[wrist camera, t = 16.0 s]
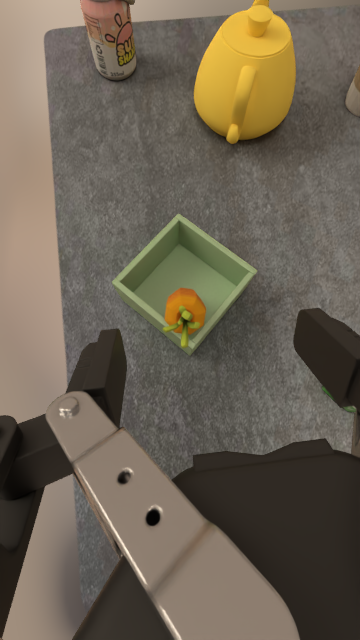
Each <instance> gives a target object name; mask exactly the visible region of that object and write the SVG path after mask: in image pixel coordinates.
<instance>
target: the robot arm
mask: <svg viewBox="0 0 360 640" xmlns="http://www.w3.org/2000/svg"><path fill="white" fill-rule="evenodd" d="M294 348H295V350H296V352H297V353H298V355H299V356H300V357H301V359H302V360H303V361H304V362H305V364H306V365H307V366H308V367H309V369H310V370H311V371H312V373H313V374H314V375H315V376H316V378H317V379H318V380H319V381H320V383H321V384H322V385H323V386H324V388H325V389H326V390H327V392H328V393H329V394H330V395H331V397H332V398H333V399H334V400H335V402H336V403H337V404H338V406H339V407H340V408H341V407H349V406H354V407H355V408H356V411H355V414H354V422H353V435H352V448H351V454H349V453H346V452H342V451H338V450H333V449H332V448H331V446H330V444H329V443H328V441H327V440H326V438H325V439H317V440H309V441H301V442H294V443H291V444H289V445H287V446H284V447H282V448H280V449H277V450H275V451H273V452H270V453H268V454H265V455H255V454H246V453H238V452H229V451H223V452H215V453H207V454H200V455H193V464H194V466H193V467H191V468H189V469H187V470H185V471H183V472H181V473H180V474H178V475H177V476H176V477H175V478H173V479H172V480H171V479H170V478H169V477H168V476H167V475H166V474H165V473H164V471H163V470H162V469H161V468H160V467H159V466H158V465H157V463H156V462H155V461H154V460H153V459H152V458H151V457H150V455H149V454H148V453H147V452H146V451H145V450H144V449H143V448H142V446H141V445H140V444H139V443H138V442H137V441H136V440H135V438H134V437H133V436H132V435H131V434H130V433H129V432H128V431H127V430H126V429H125V428H124V427H121V428H119V425H120V418H121V410H122V403H123V395H124V387H125V380H126V372H127V362H126V355H125V351H124V346H123V342H122V337H121V333H120V330H119V329H110V330H102V331H101V332H100V335H99V338H98V341H97V342H95V343H89V345H88V346H87V347H86V348H85V349H84V350H83V351H82V352H81V355H80V358H79V361H78V363H77V365H76V368H75V370H74V373H73V375H72V378H71V381H70V383H69V386H68V388H67V391H66V393H65V394H64V395H61V396H60V397H58V398H57V399H55V400H54V401H53V402H52V403H51V404H50V405H49V407H48V409H47V411H46V413H45V414H43V415H41V416H39V417H36V418H33V419H30V420H28V421H25V422H22V423H19V424H17V422H16V420H15V419H14V418H13V417H11V416H6V415H4V416H0V640H3V639H2V636H3V632H4V629H5V625H6V621H7V618H8V614H9V611H10V608H11V604H12V601H13V597H14V594H15V590H16V587H17V583H18V579H19V576H20V573H21V569H22V566H23V562H24V558H25V555H26V551H27V548H28V544H29V541H30V537H31V534H32V530H33V527H34V523H35V519H36V516H37V513H38V509H39V506H40V502H41V498H42V495H43V492H44V488H45V486H46V485H48V484H50V483H53V482H55V481H57V480H59V479H62V478H63V477H66V476H68V475H70V474H73V475H74V477H75V479H76V480H77V482H78V484H79V486H80V488H81V489H82V491H83V493H84V495H85V497H86V498H87V500H88V502H89V504H90V506H91V507H92V509H93V511H94V513H95V515H96V516H97V518H98V520H99V522H100V524H101V526H102V528H103V530H104V532H105V534H106V536H107V537H108V539H109V541H110V543H111V545H112V547H113V548H114V550H115V552H116V554H117V556H118V557H119V559H120V560H119V562H118V564H117V565H116V567H115V569H114V570H113V572H112V574H111V575H110V577H109V579H108V580H107V582H106V584H105V585H104V587H103V589H102V590H101V592H100V594H99V595H98V597H97V599H96V600H95V602H94V604H93V605H92V607H91V609H90V610H89V612H88V614H87V616H86V617H85V619H84V620H83V622H82V624H81V625H80V627H79V629H78V630H77V632H76V634H75V636H74V637H73V639H72V640H360V336H359V335H358V334H357V333H356V332H355V331H353V330H352V329H351V328H350V327H348V326H347V325H346V324H345V323H343V322H341V321H338V320H336V319H334V318H331V317H330V316H329V315H327V314H326V313H325V312H324V311H322V310H321V309H320V308H314V309H304V310H300V311H299V313H298V317H297V323H296V328H295V334H294Z"/></svg>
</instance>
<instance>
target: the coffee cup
mask: <svg viewBox="0 0 360 640" xmlns="http://www.w3.org/2000/svg"><path fill="white" fill-rule="evenodd" d="M345 104H346V107H347V109H348V110H349V111H350V112H351V113H352V114H354V115H356V116H358V117H360V66H359V68H358V70H357V72H356V75H355V77H354V79H353V81H352V84H351V86H350V88H349V90H348V92H347V97H346V100H345Z"/></svg>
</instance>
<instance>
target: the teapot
mask: <svg viewBox="0 0 360 640" xmlns="http://www.w3.org/2000/svg"><path fill="white" fill-rule="evenodd" d="M295 77H296V66H295V56H294V48H293V41H292V37H291V33H290V30H289V28H288V26H287V24H286V23H285V22H284V21H283V20H282V19H281V18H280V17H278V16H276V15H274V14H273V12H272V10H271V9H270V8H269V0H254V2H253V5H252V7H251V8H250V9H249V10H244V11H240V12H238V13H235V14H233V15H232V16H230V17H229V18H228V19H227V20H226V21H225V22H224V23H223V25H222V26H221V27H220V29H219V30H218V32H217V33H216V35H215V37H214V38H213V40H212V42H211V43H210V45H209V47H208V48H207V50H206V52H205V54H204V56H203V59H202V61H201V64H200V67H199V70H198V73H197V77H196V82H195V88H194V101H195V106H196V109H197V111H198V113H199V115H200V116H201V118H202V119H203V121H204V122H205V123H206V124H207V125H208V126H209V127H210V128H211V129H212V130H213V131H214V132H216V133H218V134H219V135H221V136H224V137H227V141H228V142H229V143H231V144H234V143H236V142H237V141H238V140H248V139H253V138H256V137H259V136H261V135H264V134H266V133H267V132H269V131H271V130H272V129H274V128H275V127H277V126H278V125H279V124H280V123H281V122H282V120H283V119H284V118H285V116H286V115H287V113H288V111H289V108H290V105H291V102H292V98H293V93H294V88H295Z"/></svg>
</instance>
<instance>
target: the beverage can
mask: <svg viewBox="0 0 360 640" xmlns="http://www.w3.org/2000/svg"><path fill="white" fill-rule="evenodd" d="M80 1H81V2H80V3H81V9H82V12H83V16H84V20H85V24H86V28H87V32H88V36H89V40H90V44H91V48H92V52H93V56H94V60H95V64H96V68H97V69H98V71H99V72H100V73H101V74H102V75H103V76H104V77H106V78H107V79H110V80H123V79H125V78H127V77H129V76H130V75H131V74H132V73H133V71H134V70H135V67H136V54H135V46H134V38H133V30H132V22H131V15H130V7H129V4H130V5H133V4H134V3H135V0H80Z"/></svg>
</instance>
